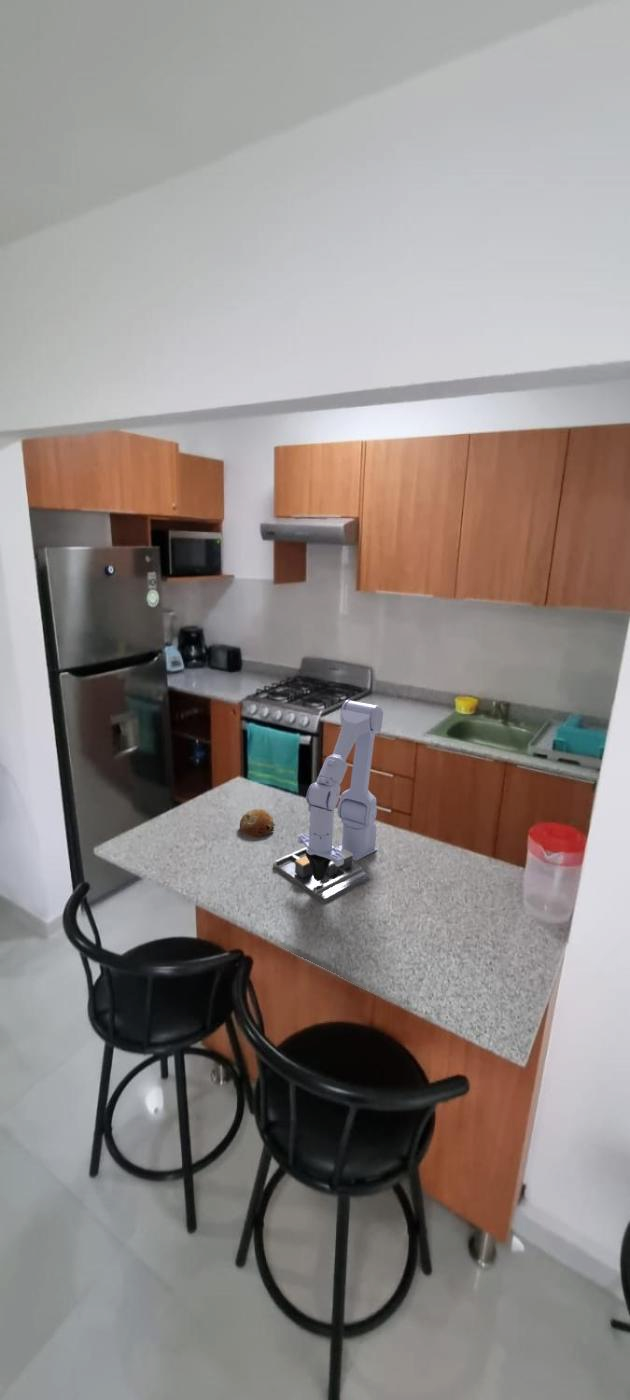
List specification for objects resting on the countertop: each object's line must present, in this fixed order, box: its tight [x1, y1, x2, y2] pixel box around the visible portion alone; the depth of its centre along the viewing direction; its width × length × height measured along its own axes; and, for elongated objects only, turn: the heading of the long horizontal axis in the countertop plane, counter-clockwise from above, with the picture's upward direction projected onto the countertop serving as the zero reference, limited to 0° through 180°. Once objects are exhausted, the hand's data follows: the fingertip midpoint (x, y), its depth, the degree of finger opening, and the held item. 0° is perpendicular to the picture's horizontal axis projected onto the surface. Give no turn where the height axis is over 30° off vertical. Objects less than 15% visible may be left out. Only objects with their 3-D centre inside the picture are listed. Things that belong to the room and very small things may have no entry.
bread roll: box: [239, 808, 276, 838], centre depth 168 cm, size 10×10×8 cm
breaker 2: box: [338, 849, 353, 870], centre depth 148 cm, size 3×3×4 cm
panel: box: [272, 846, 370, 904], centre depth 147 cm, size 16×20×2 cm
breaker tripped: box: [295, 856, 313, 878], centre depth 144 cm, size 3×3×4 cm
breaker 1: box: [325, 861, 338, 877], centre depth 145 cm, size 3×3×4 cm
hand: (318, 878), depth 140 cm, fingers closed
